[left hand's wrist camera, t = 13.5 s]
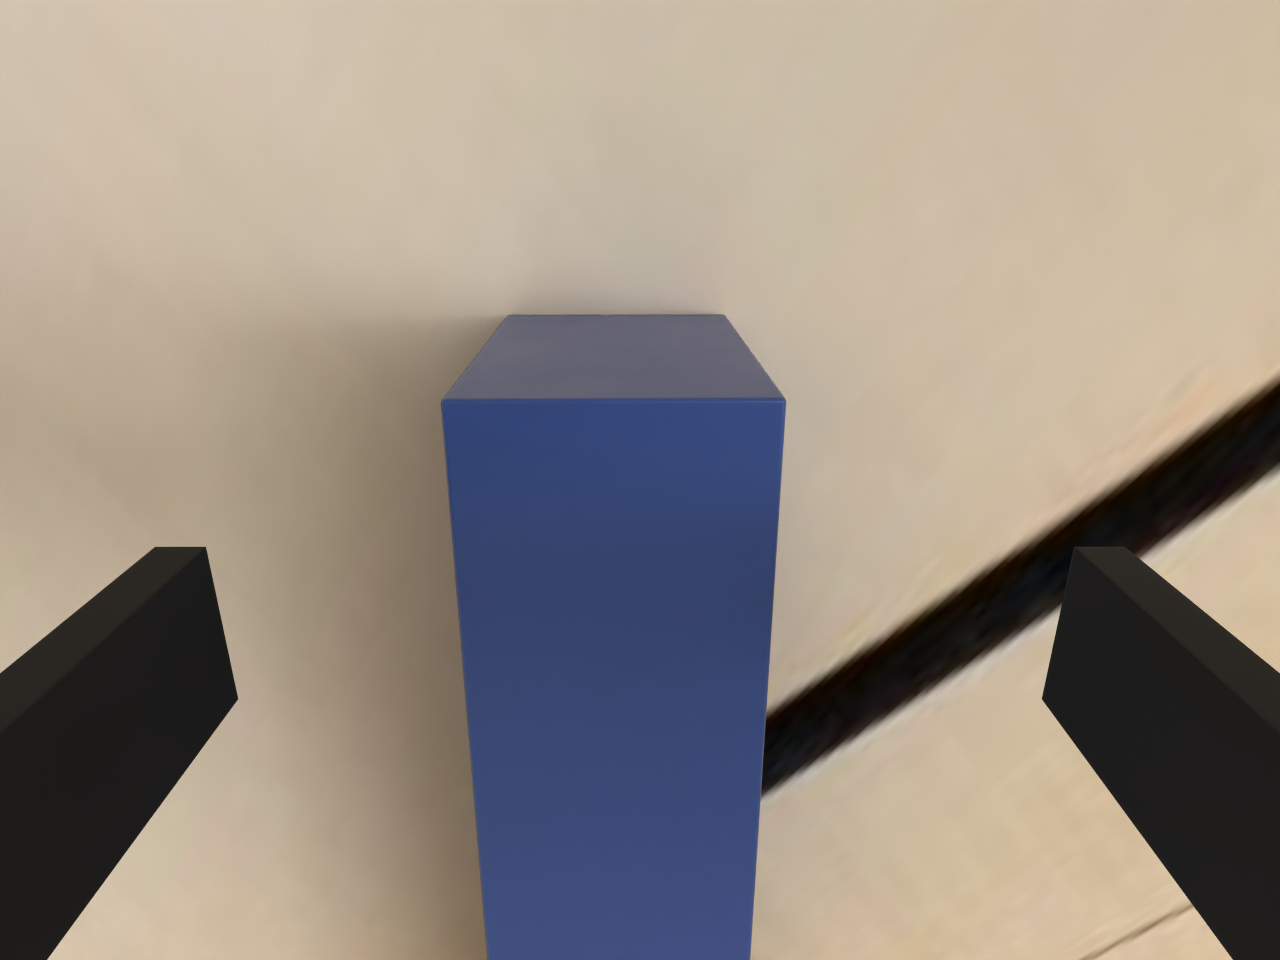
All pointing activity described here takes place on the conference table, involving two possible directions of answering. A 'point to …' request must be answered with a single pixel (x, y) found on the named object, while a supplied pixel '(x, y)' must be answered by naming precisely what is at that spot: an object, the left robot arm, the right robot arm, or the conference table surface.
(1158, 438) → the conference table surface
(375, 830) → the conference table surface
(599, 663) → the bar
